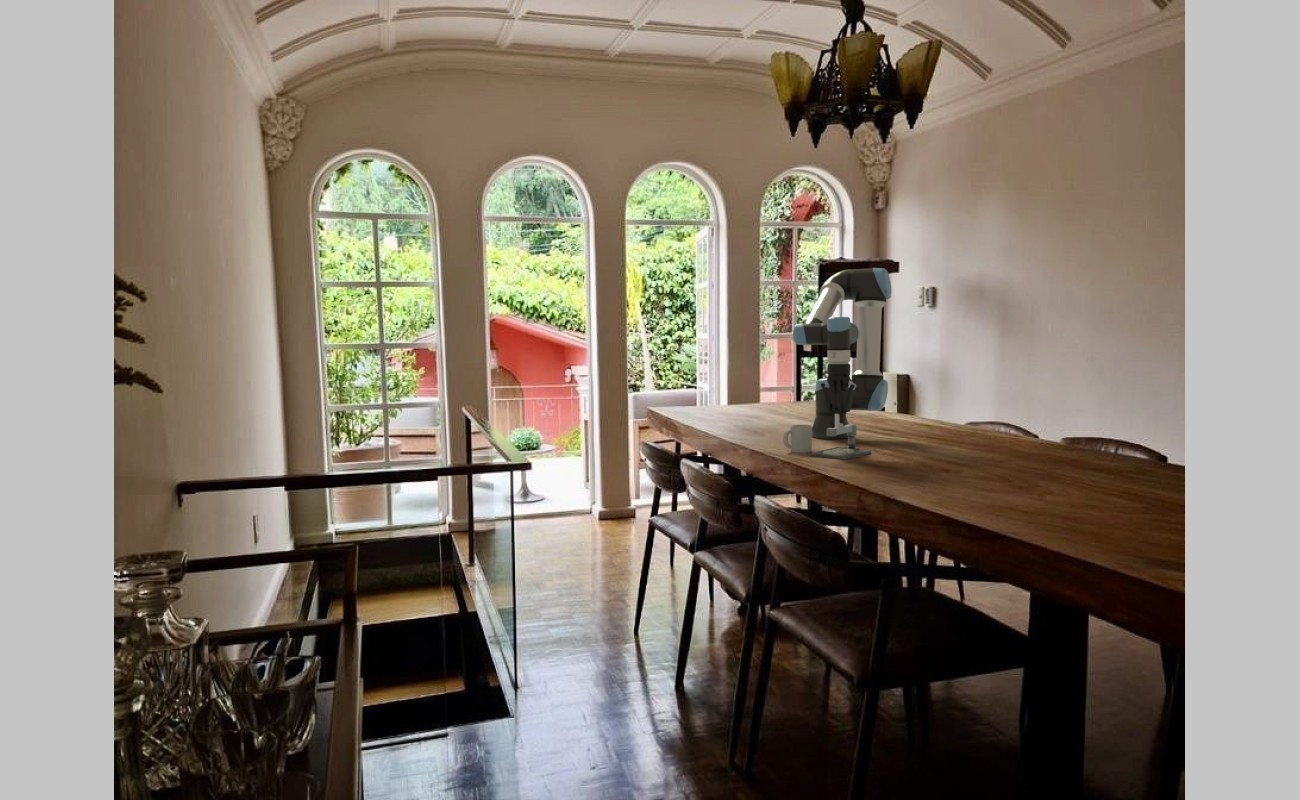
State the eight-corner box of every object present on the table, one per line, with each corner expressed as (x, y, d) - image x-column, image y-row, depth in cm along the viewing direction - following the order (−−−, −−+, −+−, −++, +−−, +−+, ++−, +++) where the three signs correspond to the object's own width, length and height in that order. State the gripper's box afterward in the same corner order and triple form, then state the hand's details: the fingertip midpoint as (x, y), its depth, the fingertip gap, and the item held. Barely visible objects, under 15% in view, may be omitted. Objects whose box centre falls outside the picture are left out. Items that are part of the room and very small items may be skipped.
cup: (814, 452, 276) (814, 426, 275) (786, 453, 275) (786, 427, 274) (808, 449, 283) (808, 424, 282) (780, 450, 282) (780, 425, 281)
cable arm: (849, 434, 276) (849, 423, 276) (858, 434, 274) (858, 424, 274) (825, 439, 266) (825, 428, 265) (834, 440, 263) (834, 429, 263)
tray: (837, 449, 281) (837, 434, 280) (871, 453, 272) (871, 437, 271) (811, 455, 269) (811, 439, 268) (846, 459, 260) (846, 442, 259)
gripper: (816, 363, 272) (816, 432, 274) (850, 363, 263) (850, 435, 265) (828, 362, 277) (828, 430, 279) (862, 362, 268) (861, 433, 270)
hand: (838, 432), depth 272 cm, fingers closed
